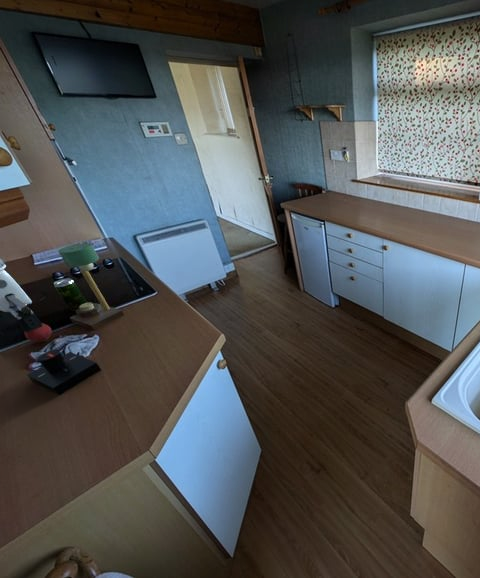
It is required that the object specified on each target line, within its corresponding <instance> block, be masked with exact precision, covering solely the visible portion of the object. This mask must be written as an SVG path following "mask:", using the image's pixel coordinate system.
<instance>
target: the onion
mask: <svg viewBox="0 0 480 578" xmlns="http://www.w3.org/2000/svg"><path fill="white" fill-rule="evenodd" d="M41 323H42V322H41ZM42 324H43V326H42V327H40V328H38V329H35V330H33V331H31V332H25V331H24V336H25V338H26V339H27V340H29V341H32V342H40V343H41V342H42V343H43V342H46V341H48V340H49V338H50V337H51V335H52V332H53V330H52V328H51V327H50V326H49V325H48V324H45V323H42Z"/></svg>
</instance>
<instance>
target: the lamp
mask: <svg viewBox="0 0 480 578" xmlns="http://www.w3.org/2000/svg"><path fill="white" fill-rule="evenodd" d="M58 254H59V255H60V257H61V258H62V260H63V261H64V264H65V265H66V267H69V268H78V269H79V271H80V272H81V274H82V275H83V278H84V279H85V281H86V282H87V284H88V285H89V287H90V289H91V290H92V292H93V294H94V295H95V297H96V298H97V300H98V302H99V304H101V305H102V307H103V309H104V310H105V311H107V310H109V309H110V308H109V307H110V306H109V304H108V303H107V301H106V299H105V297H104V296H103V294H102V293H101V291H100V289H99V288H98V285H97V284H96V282H95V281H94V278H93V277H92V276H91V274H90V271H92V270H93V269H94V263H96V262H98V261H99V259H100V257H99V255H98V254H97V252H96V250H95V248H94V246H93V244H92V243H89V242H82V243H75V244H71V245H66V246H64V247H62V248H60V249H58Z"/></svg>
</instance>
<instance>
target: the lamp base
mask: <svg viewBox="0 0 480 578" xmlns="http://www.w3.org/2000/svg"><path fill="white" fill-rule="evenodd" d="M92 304H93V305H94V308H93V309H91V310H88V311H82V310H81V309H80V308H79V309H77V310H76V311H75V313H76V314H74V315H72V316H70V317H69V320H70V321H71V322H72V323H73V322H75V323H74V324H76V323H77V324H76V325H78V324H79V326H82V327H84V328H86V329H89V330H92V331H96V330H98V329H100V328H102V327H103V326H106V325H108V324H109V323H111V322H113V321H116V320H117V319H120V318H121V317H123V316H125V313H124V312H123V310H122V309H119V308H116V307H112V306H109V308H110V309H109V310H107V311H105V310H104V309H103V307H102V305H101V304H100V303H97V302H95V303H93V302H92Z"/></svg>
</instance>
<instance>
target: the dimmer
mask: <svg viewBox="0 0 480 578" xmlns="http://www.w3.org/2000/svg"><path fill="white" fill-rule="evenodd" d="M62 355H63V356H64V357H65V359H66V360H67V361H68V365H67V366H66V367H64V368H62V369H61V370H58V371H55V372H48V371H47V370H46V369H45V368H44V366H43V365H42V366H41V367H38V368H37V369H35V370H33V371H31V372H29V373H27V375H26V376H27V377H28V378H29V379H30V381H32V383H34V384H36V385H38V386H40V387H41V388H44V389H46V390H48V391H50V392H52V393H54V394H56V395H58V396H61V395H62V394H65V393H66V392H67V391H69V390H71V389H73V388H74V387H76V386H77V385H79V384H80V383H82V382H84V381H86V380H87V379H89V378H90V377H92V376H94V375H95V374H98V372H100V371H102V369H101V368H100V366H99V364H98V362H96V361H93V360H91V359H88V358H87V357H84V356H81V355H79V354H76V353H75V352H72V351H69V352H67V353H65V354H62Z"/></svg>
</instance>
